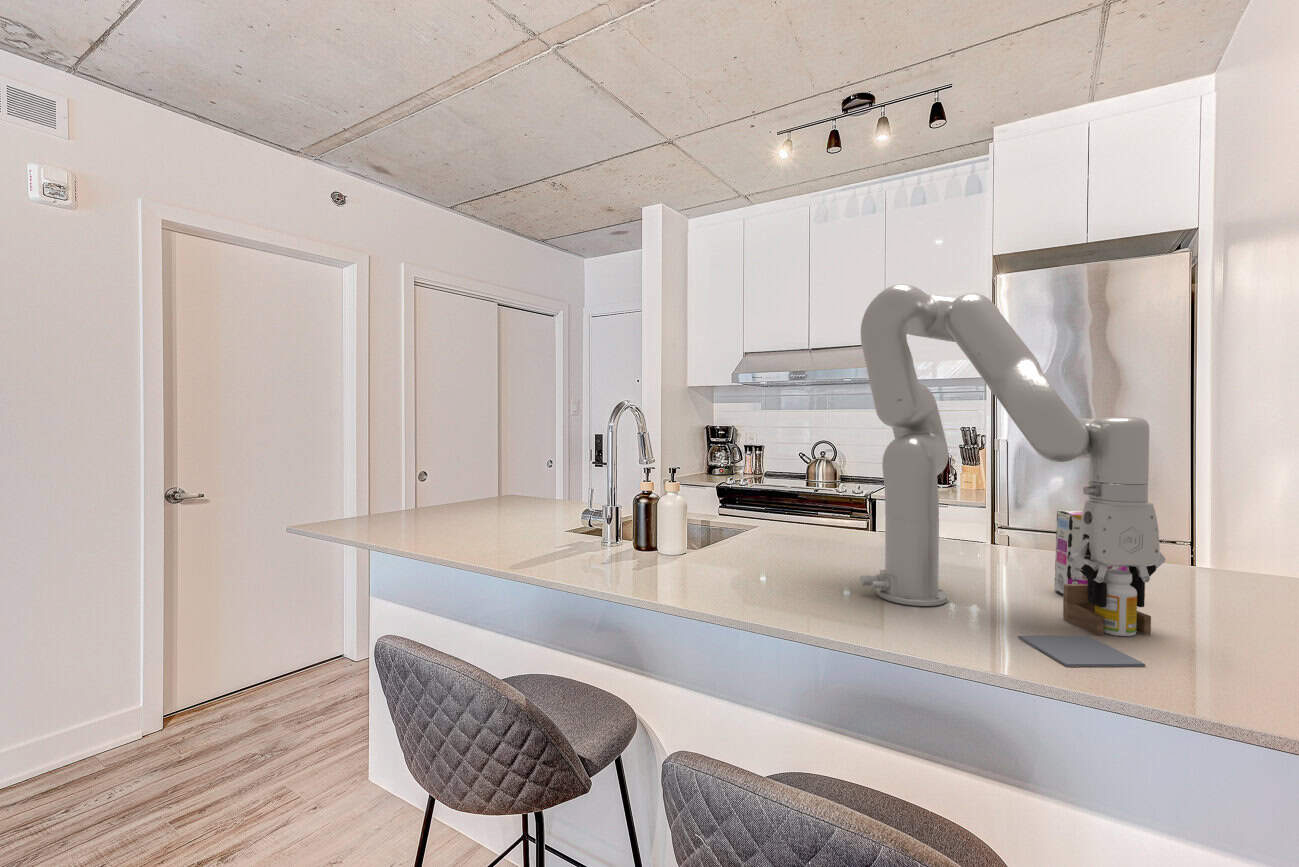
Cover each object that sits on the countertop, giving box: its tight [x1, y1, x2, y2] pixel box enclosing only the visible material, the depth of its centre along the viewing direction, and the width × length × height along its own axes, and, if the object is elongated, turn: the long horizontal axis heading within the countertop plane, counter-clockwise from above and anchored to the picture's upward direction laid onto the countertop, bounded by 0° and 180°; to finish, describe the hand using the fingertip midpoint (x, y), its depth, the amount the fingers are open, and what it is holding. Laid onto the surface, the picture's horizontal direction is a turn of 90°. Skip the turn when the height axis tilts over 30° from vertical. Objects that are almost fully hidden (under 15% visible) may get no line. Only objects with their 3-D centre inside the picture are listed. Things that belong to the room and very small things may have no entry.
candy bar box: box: [1054, 509, 1128, 596], centre depth 116 cm, size 11×5×16 cm, turn 84°
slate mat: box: [1017, 634, 1146, 668], centre depth 89 cm, size 11×11×1 cm
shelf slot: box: [1062, 584, 1152, 636], centre depth 99 cm, size 9×8×6 cm
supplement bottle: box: [1095, 569, 1138, 637], centre depth 97 cm, size 5×5×10 cm
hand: (1115, 603), depth 97 cm, fingers closed on supplement bottle, 5 cm apart
